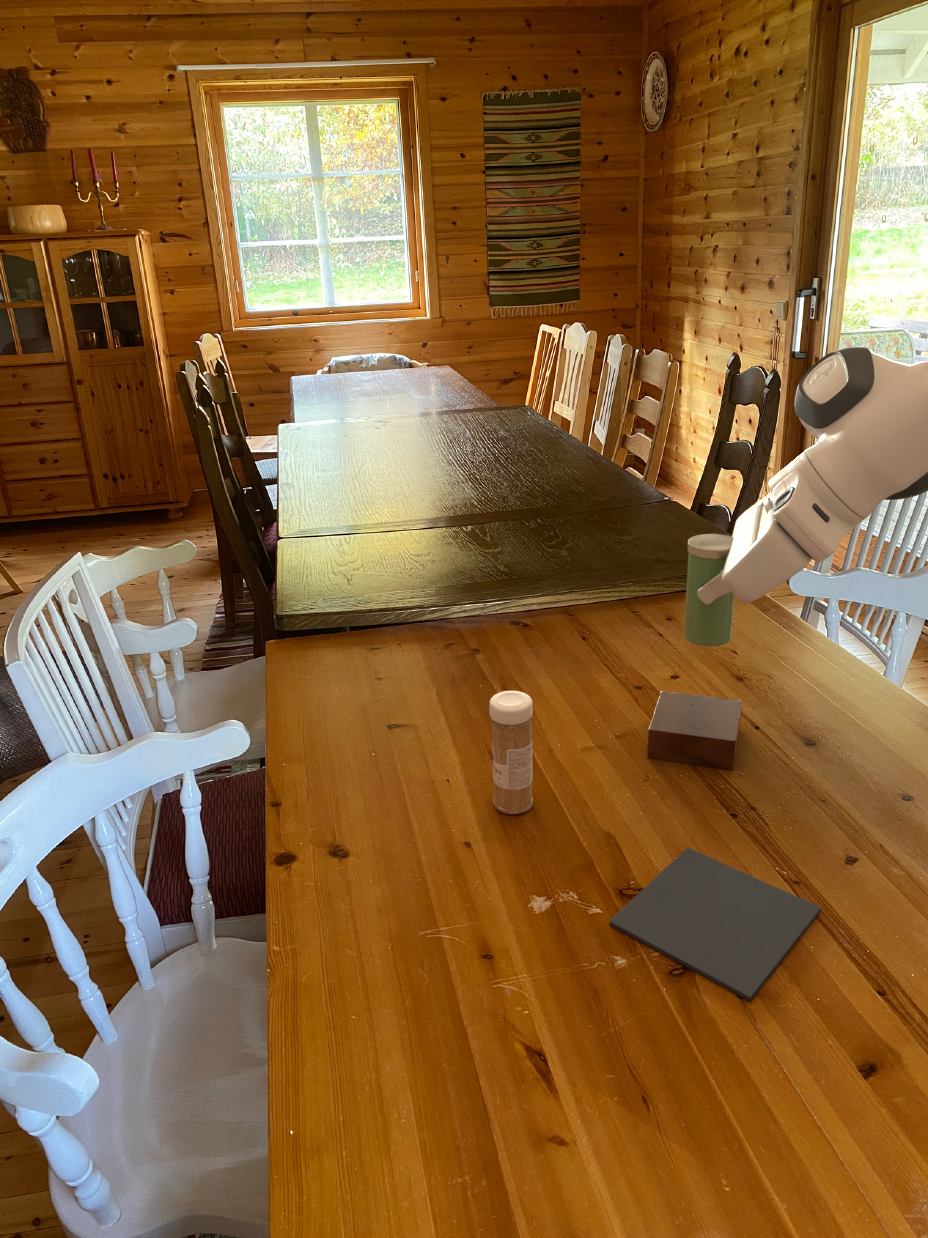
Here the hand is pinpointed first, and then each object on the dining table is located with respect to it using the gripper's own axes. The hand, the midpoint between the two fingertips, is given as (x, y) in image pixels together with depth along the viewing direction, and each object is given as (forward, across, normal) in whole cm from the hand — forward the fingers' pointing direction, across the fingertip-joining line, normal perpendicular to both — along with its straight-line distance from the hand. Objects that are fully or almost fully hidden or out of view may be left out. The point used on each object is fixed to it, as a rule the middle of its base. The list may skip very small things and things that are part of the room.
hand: (704, 586), depth 98 cm
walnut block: (+17, -6, +16) cm, 24 cm away
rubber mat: (+13, +25, +20) cm, 34 cm away
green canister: (+4, 0, +5) cm, 6 cm away
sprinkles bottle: (+29, +12, +4) cm, 32 cm away
